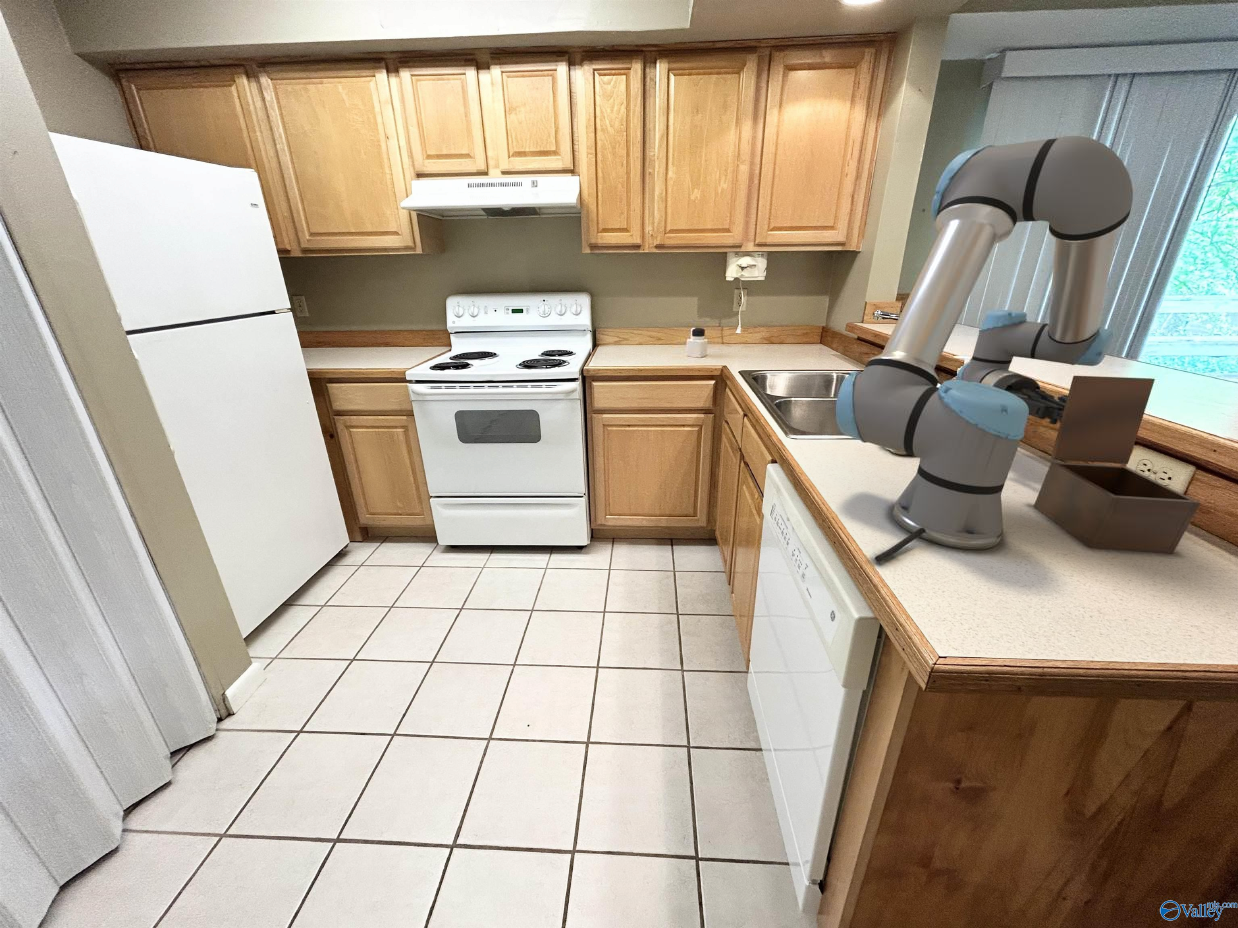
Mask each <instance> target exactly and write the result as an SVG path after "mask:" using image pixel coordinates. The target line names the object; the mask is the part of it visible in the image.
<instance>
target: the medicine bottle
mask: <svg viewBox="0 0 1238 928" xmlns="http://www.w3.org/2000/svg"><path fill="white" fill-rule="evenodd" d="M705 336H706V329H705V328H703V327H693V328H691V329H690V338H688V339H686V346H685V357H689V358H697V359H698V358H699V359H701V358H703V357H706V356H707V354H708V344H709V343H708V342H709V340H708V339H707V338H706V337H705Z"/></svg>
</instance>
